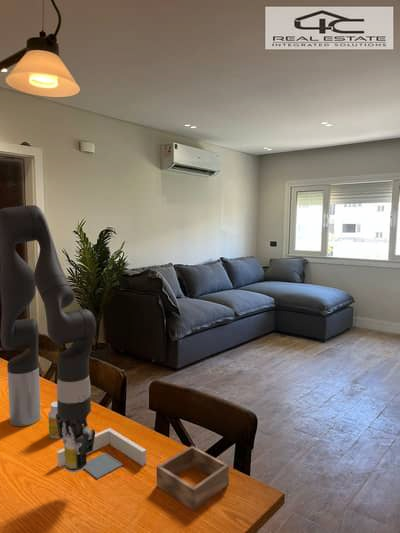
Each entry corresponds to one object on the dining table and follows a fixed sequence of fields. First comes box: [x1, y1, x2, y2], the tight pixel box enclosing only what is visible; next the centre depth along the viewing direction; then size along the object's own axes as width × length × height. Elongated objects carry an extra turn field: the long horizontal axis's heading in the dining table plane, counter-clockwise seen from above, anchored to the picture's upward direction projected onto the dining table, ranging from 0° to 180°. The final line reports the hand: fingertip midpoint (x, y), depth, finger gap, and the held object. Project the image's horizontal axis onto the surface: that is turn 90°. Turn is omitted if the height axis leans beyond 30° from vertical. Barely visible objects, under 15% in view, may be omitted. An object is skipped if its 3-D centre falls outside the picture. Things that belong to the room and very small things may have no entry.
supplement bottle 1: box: [48, 400, 63, 439], centre depth 121 cm, size 5×5×10 cm
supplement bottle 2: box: [64, 433, 85, 473], centre depth 95 cm, size 5×5×8 cm
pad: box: [82, 452, 124, 480], centre depth 106 cm, size 8×8×1 cm
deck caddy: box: [156, 445, 230, 511], centre depth 98 cm, size 13×13×5 cm
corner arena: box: [56, 427, 147, 468], centre depth 106 cm, size 17×17×4 cm
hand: (75, 461), depth 96 cm, fingers closed on supplement bottle 2, 4 cm apart
